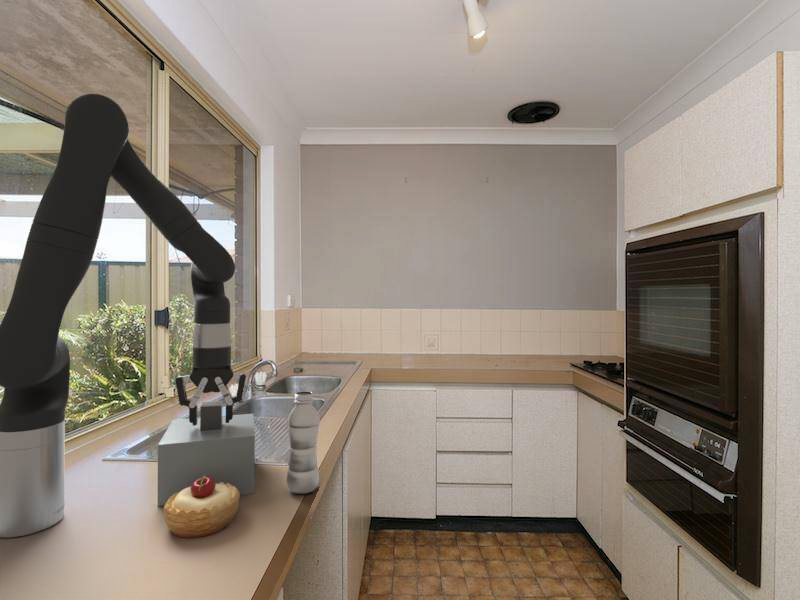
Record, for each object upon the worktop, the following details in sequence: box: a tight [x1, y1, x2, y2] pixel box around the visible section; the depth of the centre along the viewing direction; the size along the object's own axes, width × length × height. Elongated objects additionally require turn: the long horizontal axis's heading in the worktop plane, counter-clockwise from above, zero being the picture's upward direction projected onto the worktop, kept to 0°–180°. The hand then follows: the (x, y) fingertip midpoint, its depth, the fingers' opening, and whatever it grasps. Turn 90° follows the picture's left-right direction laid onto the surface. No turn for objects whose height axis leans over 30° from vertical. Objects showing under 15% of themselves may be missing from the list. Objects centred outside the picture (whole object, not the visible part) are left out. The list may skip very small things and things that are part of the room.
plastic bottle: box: [286, 390, 321, 495], centre depth 87 cm, size 6×7×20 cm
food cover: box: [157, 400, 256, 507], centre depth 91 cm, size 17×17×17 cm
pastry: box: [163, 476, 241, 539], centre depth 74 cm, size 12×12×9 cm
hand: (211, 422), depth 91 cm, fingers open, 5 cm apart
